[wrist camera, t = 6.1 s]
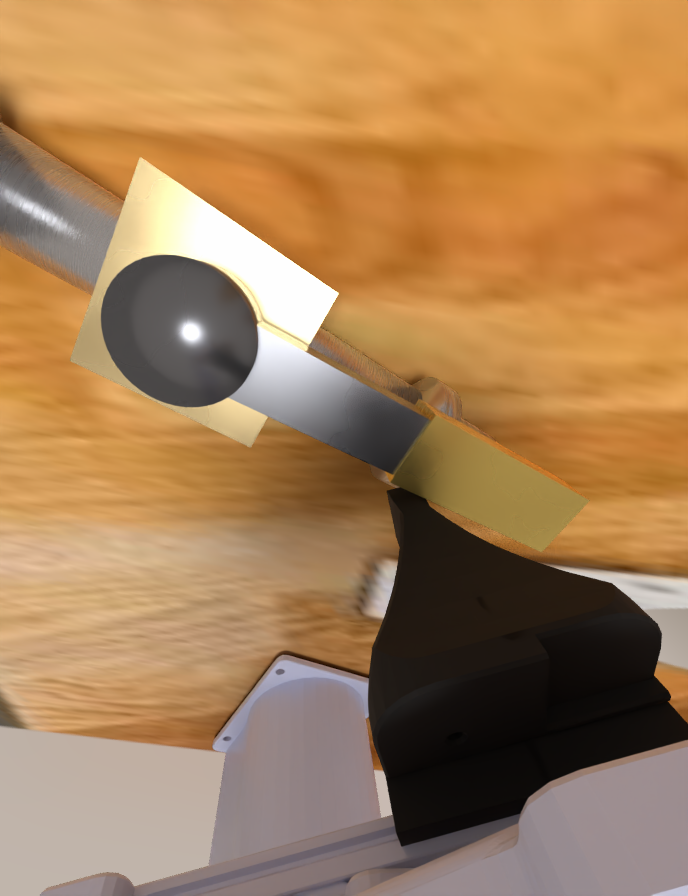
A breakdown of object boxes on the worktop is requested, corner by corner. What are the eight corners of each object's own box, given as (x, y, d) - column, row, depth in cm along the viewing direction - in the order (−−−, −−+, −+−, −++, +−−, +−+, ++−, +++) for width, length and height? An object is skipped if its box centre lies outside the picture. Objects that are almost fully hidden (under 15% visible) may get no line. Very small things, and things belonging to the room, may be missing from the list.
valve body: (424, 491, 17) (461, 551, 13) (-176, 175, 10) (-467, 108, 6) (493, 404, 15) (557, 444, 12) (-156, -39, 8) (-528, -305, 5)
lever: (565, 467, 12) (606, 495, 10) (509, 532, 13) (539, 567, 11) (161, 232, 8) (127, 219, 6) (122, 352, 9) (83, 367, 7)
